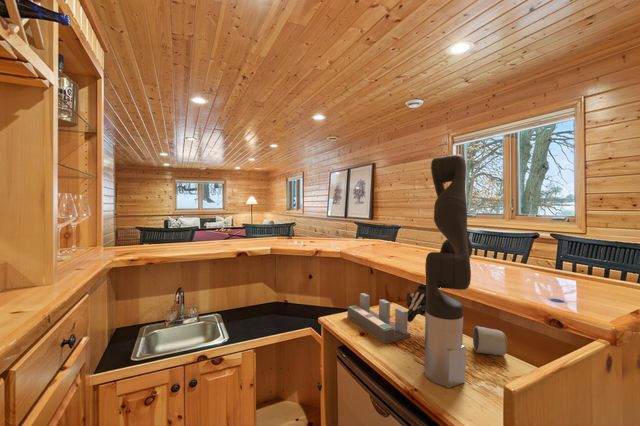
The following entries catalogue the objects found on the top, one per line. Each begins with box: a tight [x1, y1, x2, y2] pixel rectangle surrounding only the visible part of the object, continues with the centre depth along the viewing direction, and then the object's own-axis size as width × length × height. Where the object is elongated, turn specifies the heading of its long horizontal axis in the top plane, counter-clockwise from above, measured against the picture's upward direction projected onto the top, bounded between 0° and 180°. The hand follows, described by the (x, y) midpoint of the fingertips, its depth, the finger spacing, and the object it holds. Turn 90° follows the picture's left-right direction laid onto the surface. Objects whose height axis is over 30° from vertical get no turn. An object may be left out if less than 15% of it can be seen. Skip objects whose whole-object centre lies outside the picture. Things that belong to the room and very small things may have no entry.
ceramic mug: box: [472, 325, 508, 356], centre depth 92 cm, size 11×8×8 cm
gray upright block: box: [378, 299, 391, 323], centre depth 111 cm, size 4×2×8 cm, turn 25°
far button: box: [359, 292, 371, 313], centre depth 118 cm, size 4×2×8 cm, turn 25°
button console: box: [347, 304, 412, 344], centre depth 109 cm, size 24×11×5 cm, turn 25°
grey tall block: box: [394, 307, 409, 334], centre depth 102 cm, size 4×2×8 cm, turn 25°
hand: (407, 320), depth 103 cm, fingers closed
